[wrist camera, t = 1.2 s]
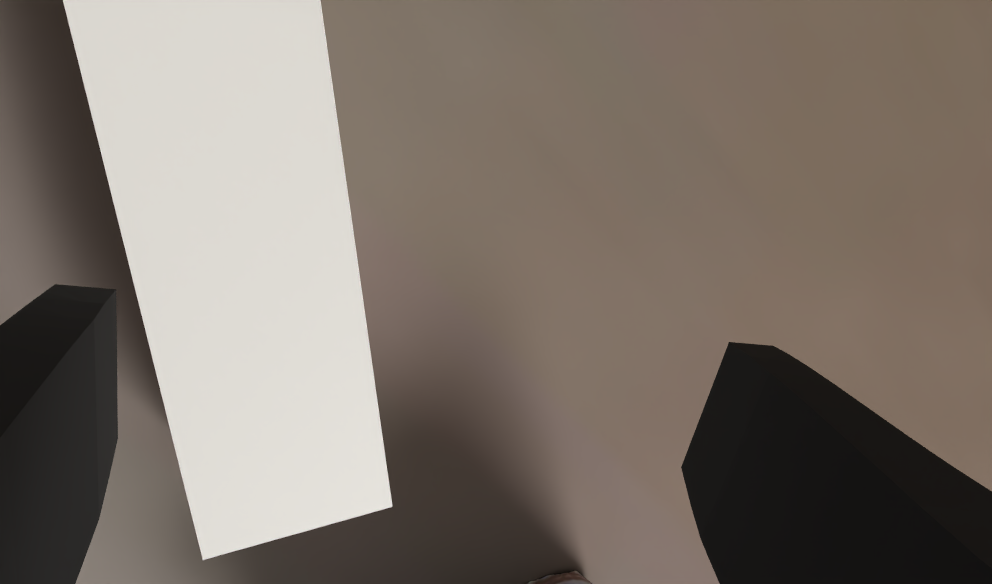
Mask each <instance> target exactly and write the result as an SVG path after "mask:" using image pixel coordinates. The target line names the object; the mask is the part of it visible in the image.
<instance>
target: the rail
mask: <svg viewBox="0 0 992 584" xmlns="http://www.w3.org/2000/svg"><path fill="white" fill-rule="evenodd" d="M63 3H64V7H65V11H66V15H67V19H68V23H69V27H70V31H71V35H72V39H73V43H74V47H75V51H76V55H77V59H78V63H79V67H80V71H81V75H82V79H83V83H84V87H85V91H86V95H87V99H88V103H89V107H90V111H91V115H92V119H93V123H94V127H95V131H96V135H97V139H98V143H99V147H100V151H101V155H102V159H103V163H104V167H105V171H106V175H107V179H108V183H109V187H110V191H111V195H112V199H113V203H114V207H115V211H116V215H117V219H118V223H119V227H120V231H121V235H122V239H123V243H124V247H125V251H126V255H127V259H128V263H129V267H130V271H131V275H132V279H133V283H134V287H135V291H136V295H137V299H138V303H139V307H140V311H141V315H142V319H143V323H144V327H145V331H146V335H147V339H148V343H149V347H150V351H151V355H152V359H153V363H154V367H155V371H156V375H157V379H158V383H159V387H160V391H161V395H162V399H163V403H164V407H165V411H166V415H167V419H168V423H169V427H170V431H171V435H172V439H173V443H174V447H175V451H176V455H177V459H178V463H179V467H180V471H181V475H182V479H183V483H184V487H185V491H186V495H187V499H188V503H189V507H190V511H191V515H192V519H193V523H194V526H195V530H196V534H197V538H198V542H199V546H200V550H201V554H202V558H203V560H205V559H209V558H212V557H216V556H219V555H223V554H226V553H230V552H233V551H237V550H241V549H244V548H248V547H251V546H255V545H258V544H262V543H265V542H269V541H273V540H276V539H280V538H283V537H287V536H290V535H294V534H297V533H301V532H305V531H308V530H312V529H315V528H319V527H322V526H326V525H329V524H333V523H337V522H340V521H344V520H347V519H351V518H354V517H358V516H361V515H365V514H368V513H372V512H376V511H379V510H383V509H386V508H390V507H392V500H391V493H390V486H389V479H388V472H387V465H386V458H385V451H384V444H383V437H382V430H381V423H380V416H379V409H378V402H377V395H376V388H375V381H374V374H373V367H372V359H371V352H370V345H369V338H368V331H367V324H366V317H365V310H364V303H363V296H362V289H361V282H360V275H359V268H358V261H357V254H356V247H355V240H354V233H353V226H352V219H351V212H350V205H349V198H348V191H347V184H346V177H345V170H344V163H343V156H342V149H341V142H340V135H339V128H338V121H337V114H336V107H335V100H334V93H333V86H332V79H331V72H330V65H329V58H328V50H327V43H326V36H325V29H324V22H323V15H322V8H321V1H320V0H63Z"/></svg>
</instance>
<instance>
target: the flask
mask: <svg viewBox="0 0 992 584" xmlns="http://www.w3.org/2000/svg"><path fill="white" fill-rule="evenodd" d="M528 584H592V583H591V582H590V581H588V580H587V579H586V578H584V577H583V576H582V575H581V574H580V573H578V571H572V572H569V573H562V574H556V575H554V574H553V575H548V576H546V577H543V578H541V579H537V580H536V581H531V582H529V583H528Z"/></svg>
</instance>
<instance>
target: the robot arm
mask: <svg viewBox="0 0 992 584" xmlns="http://www.w3.org/2000/svg"><path fill="white" fill-rule="evenodd" d="M117 439H118V421H117V330H116V290H115V289H103V288H92V287H80V286H68V285H57V284H55V285H54V286H52V287H51V288H50V289H48V290H47V291H45V292H44V293H43V294H41V295H40V296H39V297H37V298H36V299H34V300H33V301H32V302H30V303H29V304H28V305H26V306H25V307H24V308H22V309H21V310H20V311H18V312H17V313H16V314H15V315H13V316H12V317H11V318H9V319H8V320H7V321H5V322H4V323H3V324H2V325H0V584H75V583H76V580H77V577H78V575H79V572H80V569H81V567H82V564H83V561H84V559H85V556H86V553H87V550H88V548H89V545H90V542H91V540H92V537H93V534H94V531H95V529H96V526H97V523H98V520H99V517H100V513H101V509H102V504H103V500H104V496H105V492H106V488H107V484H108V479H109V475H110V470H111V466H112V462H113V457H114V453H115V448H116V444H117ZM681 468H682V472H683V476H684V480H685V484H686V488H687V492H688V496H689V500H690V504H691V507H692V511H693V514H694V518H695V521H696V524H697V528H698V531H699V534H700V538H701V540H702V543H703V545H704V548H705V550H706V553H707V555H708V557H709V560H710V562H711V564H712V567H713V569H714V571H715V574H716V576H717V578H718V581H719V583H720V584H992V491H990V490H988V489H987V488H985V487H984V486H982V485H981V484H979V483H978V482H976V481H974V480H973V479H971V478H970V477H968V476H967V475H965V474H963V473H962V472H960V471H959V470H957V469H956V468H954V467H953V466H951V465H950V464H948V463H947V462H945V461H944V460H942V459H941V458H939V457H938V456H936V455H935V454H933V453H932V452H930V451H929V450H928V449H926V448H925V447H923V446H922V445H920V444H919V443H917V442H916V441H914V440H913V439H912V438H910V437H909V436H907V435H906V434H904V433H903V432H902V431H900V430H899V429H897V428H896V427H894V426H893V425H891V424H890V423H889V422H887V421H886V420H884V419H883V418H882V417H880V416H879V415H877V414H876V413H874V412H873V411H872V410H870V409H869V408H867V407H866V406H865V405H863V404H862V403H860V402H859V401H857V400H856V399H855V398H853V397H852V396H850V395H849V394H848V393H846V392H845V391H843V390H842V389H840V388H839V387H838V386H836V385H835V384H833V383H832V382H830V381H829V380H827V379H826V378H824V377H823V376H822V375H820V374H819V373H817V372H816V371H814V370H813V369H811V368H810V367H808V366H807V365H805V364H803V363H802V362H800V361H799V360H797V359H795V358H794V357H792V356H791V355H789V354H787V353H785V352H784V351H782V350H780V349H778V348H776V347H774V346H768V345H757V344H745V343H733V342H729V344H728V346H727V349H726V352H725V354H724V357H723V360H722V362H721V365H720V367H719V370H718V373H717V375H716V378H715V380H714V383H713V386H712V388H711V391H710V394H709V396H708V399H707V401H706V404H705V407H704V409H703V412H702V414H701V417H700V420H699V422H698V425H697V428H696V430H695V433H694V435H693V438H692V441H691V443H690V446H689V449H688V451H687V454H686V456H685V459H684V462H683V464H682V467H681Z"/></svg>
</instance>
